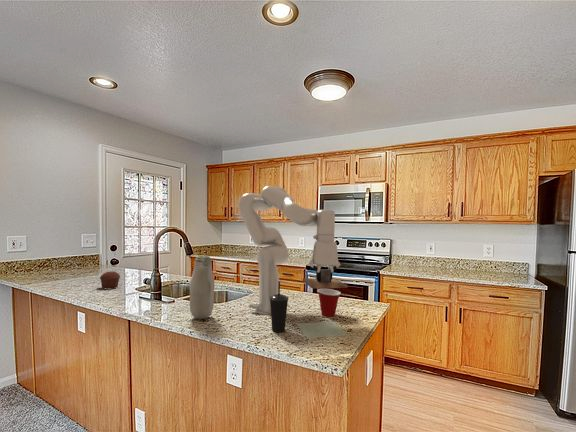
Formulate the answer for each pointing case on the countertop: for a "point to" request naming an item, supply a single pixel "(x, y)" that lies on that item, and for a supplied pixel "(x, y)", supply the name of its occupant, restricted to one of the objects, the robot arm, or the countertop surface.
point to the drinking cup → (278, 311)
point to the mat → (321, 329)
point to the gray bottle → (202, 288)
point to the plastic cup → (328, 301)
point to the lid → (324, 281)
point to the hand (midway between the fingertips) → (324, 280)
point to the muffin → (110, 279)
